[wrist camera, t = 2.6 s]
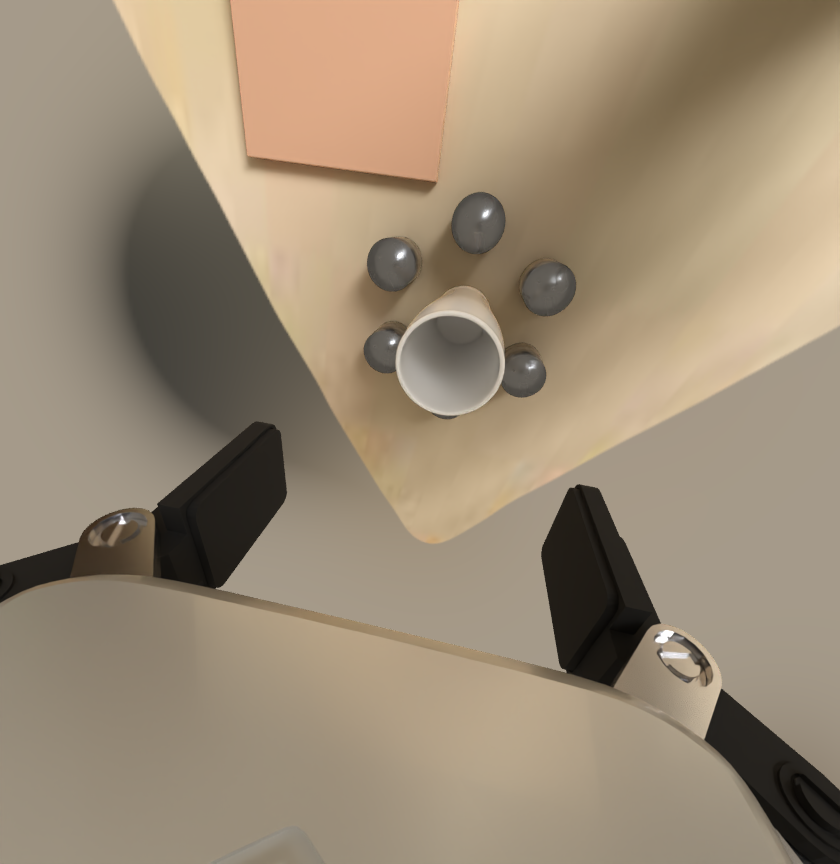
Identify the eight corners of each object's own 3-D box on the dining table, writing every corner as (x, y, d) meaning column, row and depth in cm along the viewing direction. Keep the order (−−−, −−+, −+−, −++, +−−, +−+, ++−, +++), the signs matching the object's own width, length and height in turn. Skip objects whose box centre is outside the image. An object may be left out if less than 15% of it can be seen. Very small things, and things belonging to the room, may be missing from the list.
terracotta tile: (477, -152, 20) (477, -169, 19) (437, 182, 29) (435, 181, 28) (220, -168, 21) (210, -184, 21) (254, 157, 30) (247, 155, 29)
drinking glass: (423, 341, 36) (388, 405, 23) (434, 269, 32) (400, 298, 19) (488, 354, 35) (490, 427, 22) (507, 283, 32) (521, 321, 19)
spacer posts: (589, 210, 28) (603, 208, 25) (523, 415, 38) (527, 434, 34) (383, 182, 29) (370, 176, 26) (372, 388, 39) (361, 403, 36)
